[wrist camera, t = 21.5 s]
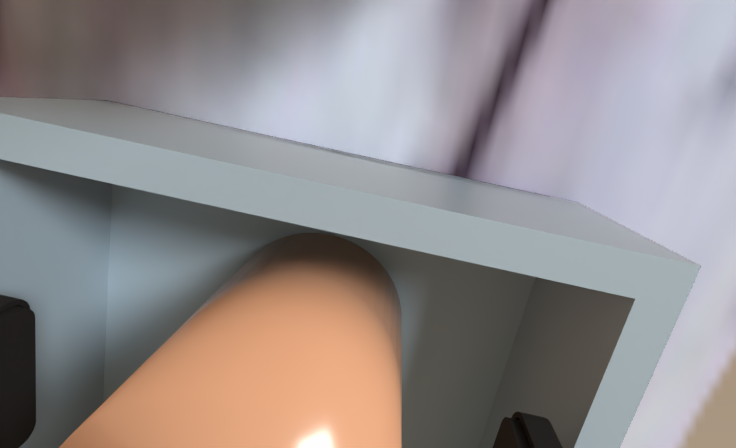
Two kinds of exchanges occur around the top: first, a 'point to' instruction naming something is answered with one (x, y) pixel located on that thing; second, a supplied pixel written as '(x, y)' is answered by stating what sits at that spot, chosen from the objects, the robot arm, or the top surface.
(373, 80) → the top surface
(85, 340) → the box
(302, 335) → the terracotta egg
